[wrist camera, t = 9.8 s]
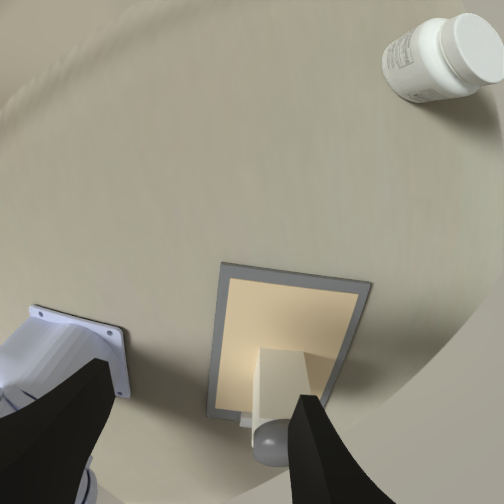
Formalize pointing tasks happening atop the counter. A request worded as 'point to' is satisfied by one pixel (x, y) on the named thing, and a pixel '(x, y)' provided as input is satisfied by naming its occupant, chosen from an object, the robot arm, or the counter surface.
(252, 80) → the counter surface
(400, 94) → the pill bottle
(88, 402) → the robot arm
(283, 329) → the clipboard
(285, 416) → the block with domed cap
